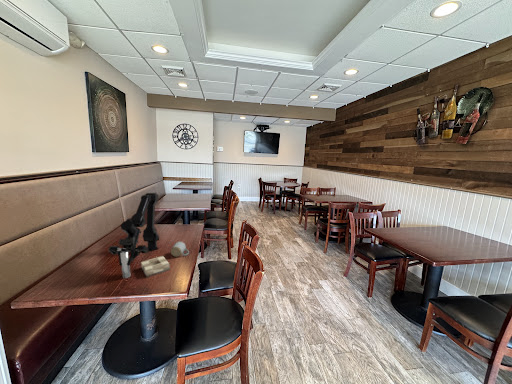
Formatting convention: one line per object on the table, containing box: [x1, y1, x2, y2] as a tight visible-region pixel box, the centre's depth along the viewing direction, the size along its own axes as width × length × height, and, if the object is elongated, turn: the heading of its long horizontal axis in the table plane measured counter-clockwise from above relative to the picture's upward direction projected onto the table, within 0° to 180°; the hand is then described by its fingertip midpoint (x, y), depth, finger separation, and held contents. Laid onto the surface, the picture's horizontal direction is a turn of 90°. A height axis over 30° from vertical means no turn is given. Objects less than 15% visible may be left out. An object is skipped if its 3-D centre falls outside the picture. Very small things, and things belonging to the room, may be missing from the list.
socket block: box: [140, 255, 171, 278], centre depth 120 cm, size 12×12×4 cm
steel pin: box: [120, 251, 132, 279], centre depth 111 cm, size 4×4×14 cm
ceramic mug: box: [170, 241, 190, 258], centre depth 138 cm, size 11×8×8 cm
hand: (124, 265), depth 110 cm, fingers closed on steel pin, 4 cm apart
